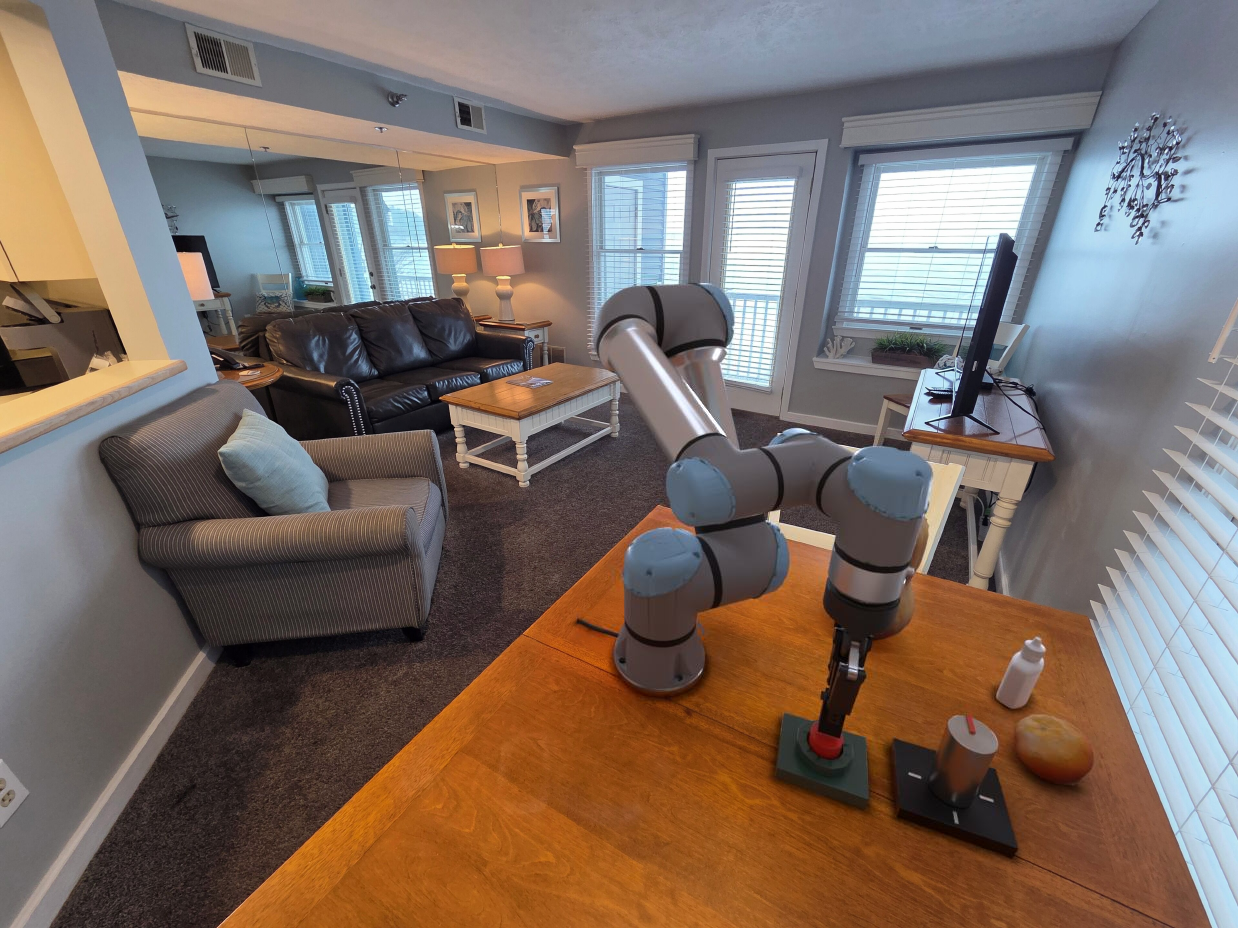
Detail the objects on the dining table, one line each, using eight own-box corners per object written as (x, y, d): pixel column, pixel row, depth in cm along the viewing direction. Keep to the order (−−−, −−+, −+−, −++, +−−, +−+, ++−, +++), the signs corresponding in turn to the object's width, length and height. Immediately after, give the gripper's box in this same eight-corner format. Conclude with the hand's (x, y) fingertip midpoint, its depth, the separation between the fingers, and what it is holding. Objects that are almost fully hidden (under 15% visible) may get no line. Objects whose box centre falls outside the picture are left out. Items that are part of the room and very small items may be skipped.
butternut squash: (918, 656, 85) (959, 531, 74) (838, 655, 85) (868, 531, 75) (881, 601, 97) (911, 487, 87) (812, 601, 98) (834, 487, 87)
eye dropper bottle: (1040, 708, 75) (1070, 649, 70) (1004, 710, 75) (1031, 650, 70) (1018, 684, 79) (1044, 626, 74) (984, 686, 79) (1008, 628, 74)
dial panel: (896, 817, 62) (900, 806, 61) (890, 746, 70) (893, 736, 69) (1012, 858, 58) (1018, 847, 57) (991, 778, 66) (996, 767, 65)
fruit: (1112, 806, 61) (1089, 753, 60) (1031, 797, 66) (1009, 748, 65) (1098, 753, 67) (1078, 704, 66) (1026, 749, 72) (1006, 703, 71)
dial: (977, 814, 60) (1004, 758, 56) (930, 798, 62) (952, 742, 57) (968, 776, 64) (993, 721, 60) (924, 762, 66) (945, 707, 62)
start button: (807, 752, 66) (810, 742, 65) (809, 727, 69) (811, 717, 68) (840, 763, 64) (843, 753, 63) (840, 737, 68) (843, 726, 67)
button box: (774, 778, 66) (778, 758, 65) (781, 721, 74) (785, 702, 72) (865, 810, 63) (871, 790, 61) (863, 747, 70) (868, 728, 68)
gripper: (908, 633, 49) (861, 787, 59) (896, 559, 60) (858, 699, 69) (825, 614, 51) (794, 764, 61) (828, 546, 62) (802, 683, 72)
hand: (828, 730), depth 65 cm, fingers closed
